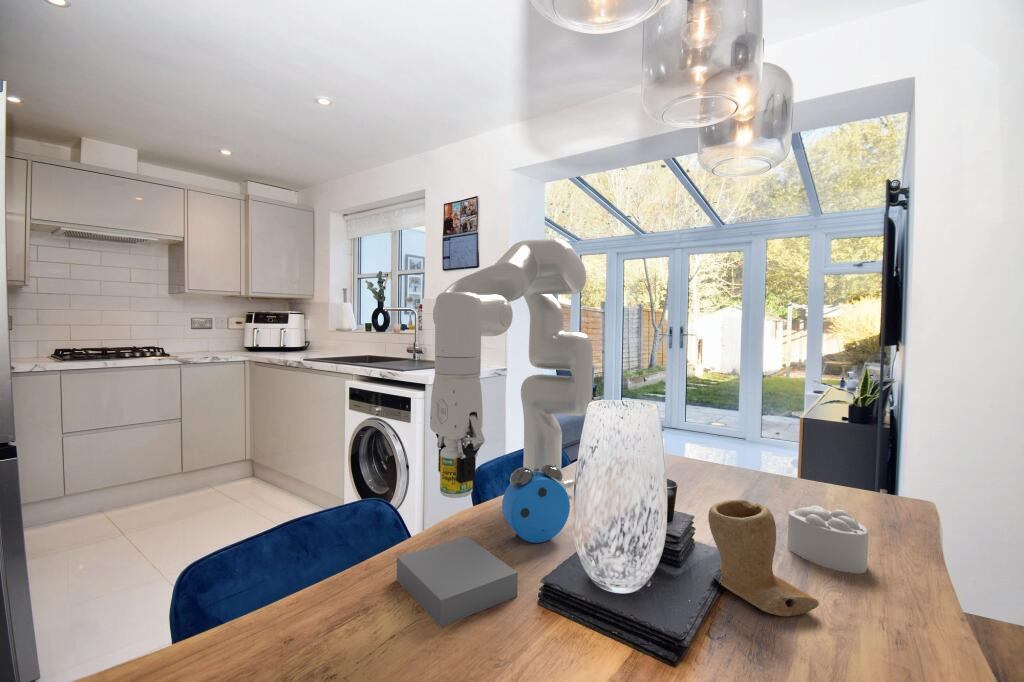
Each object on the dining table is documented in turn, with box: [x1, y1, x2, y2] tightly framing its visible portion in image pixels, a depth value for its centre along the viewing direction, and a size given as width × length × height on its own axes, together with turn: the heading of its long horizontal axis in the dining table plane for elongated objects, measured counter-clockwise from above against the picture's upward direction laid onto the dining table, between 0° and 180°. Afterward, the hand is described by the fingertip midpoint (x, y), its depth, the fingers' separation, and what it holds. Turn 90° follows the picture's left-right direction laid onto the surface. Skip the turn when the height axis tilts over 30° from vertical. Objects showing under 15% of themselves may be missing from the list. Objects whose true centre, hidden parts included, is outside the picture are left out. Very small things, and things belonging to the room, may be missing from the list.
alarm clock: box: [501, 465, 571, 544], centre depth 100 cm, size 13×6×15 cm, turn 112°
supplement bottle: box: [439, 435, 474, 499], centre depth 80 cm, size 5×5×10 cm
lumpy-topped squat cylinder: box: [786, 505, 869, 574], centre depth 94 cm, size 10×13×9 cm
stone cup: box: [708, 499, 820, 617], centre depth 80 cm, size 15×12×15 cm
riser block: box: [396, 536, 519, 628], centre depth 81 cm, size 14×16×4 cm
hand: (456, 475), depth 80 cm, fingers closed on supplement bottle, 5 cm apart
